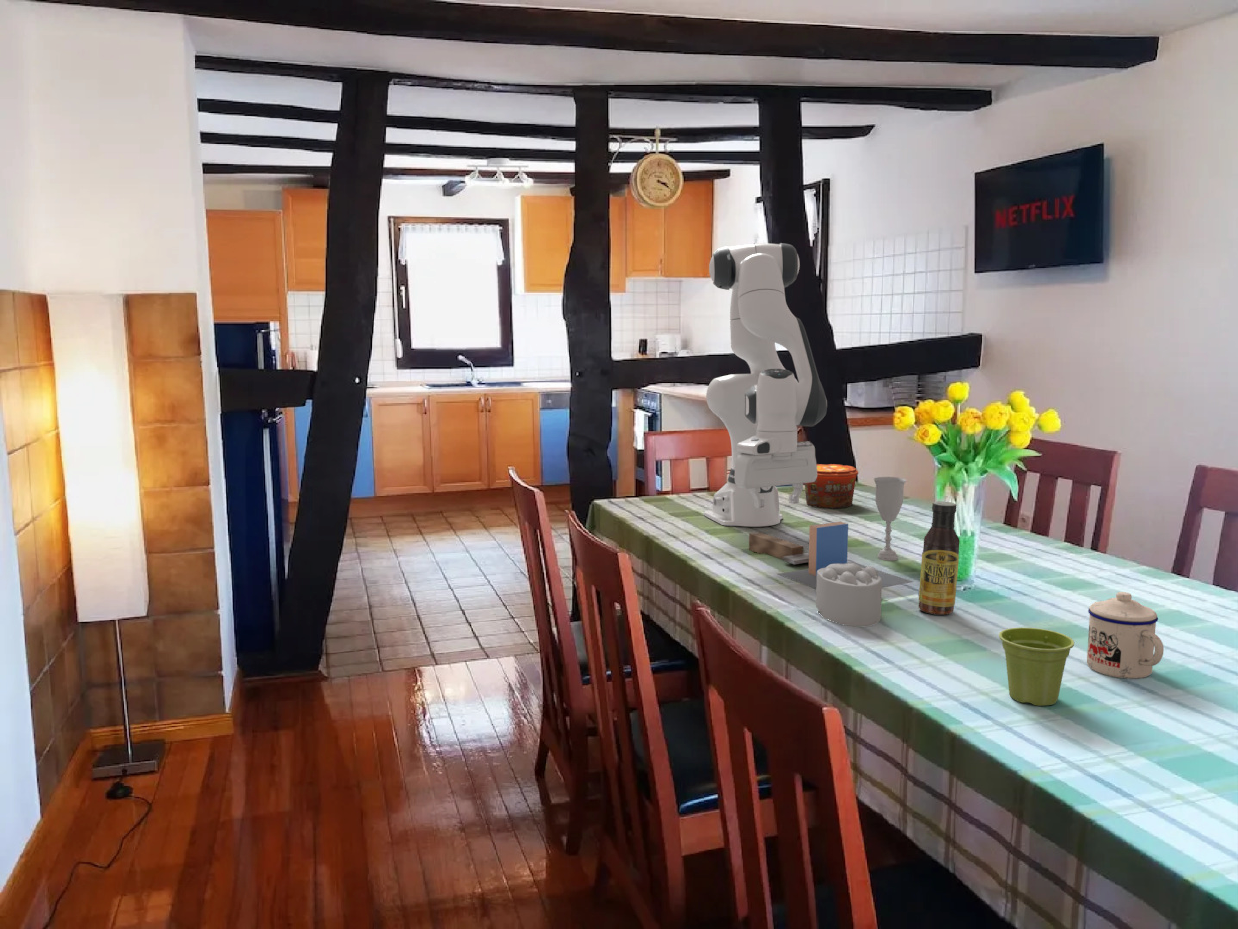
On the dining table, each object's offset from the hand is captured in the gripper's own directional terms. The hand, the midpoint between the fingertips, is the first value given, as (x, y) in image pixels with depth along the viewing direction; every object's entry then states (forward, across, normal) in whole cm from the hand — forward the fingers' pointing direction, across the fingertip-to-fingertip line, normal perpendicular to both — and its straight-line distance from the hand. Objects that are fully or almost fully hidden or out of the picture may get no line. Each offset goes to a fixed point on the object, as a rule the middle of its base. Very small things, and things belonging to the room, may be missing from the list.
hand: (776, 505), depth 206 cm
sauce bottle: (+13, -1, +46) cm, 48 cm away
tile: (+12, 0, +17) cm, 21 cm away
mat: (+12, 0, +22) cm, 25 cm away
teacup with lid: (+14, -4, +81) cm, 82 cm away
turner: (+12, 0, +1) cm, 12 cm away
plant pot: (+14, +16, +81) cm, 84 cm away
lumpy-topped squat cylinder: (+13, +14, +40) cm, 44 cm away
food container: (+11, -50, -43) cm, 67 cm away
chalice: (+12, -19, +14) cm, 27 cm away
